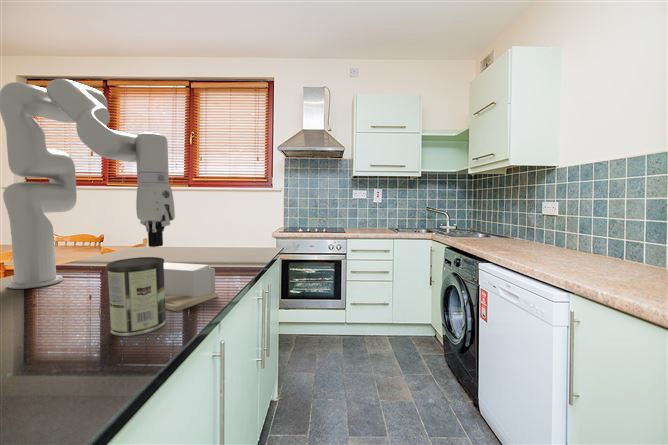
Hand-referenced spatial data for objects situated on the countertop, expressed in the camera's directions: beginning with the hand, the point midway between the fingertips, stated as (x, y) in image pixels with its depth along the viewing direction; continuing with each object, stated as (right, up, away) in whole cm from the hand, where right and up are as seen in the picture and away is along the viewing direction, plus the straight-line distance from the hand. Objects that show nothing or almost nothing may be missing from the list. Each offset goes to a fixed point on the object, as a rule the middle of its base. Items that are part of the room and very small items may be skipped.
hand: (155, 246), depth 88 cm
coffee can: (+8, -16, -20) cm, 27 cm away
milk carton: (-1, -9, +2) cm, 9 cm away
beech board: (+4, -14, -1) cm, 14 cm away
